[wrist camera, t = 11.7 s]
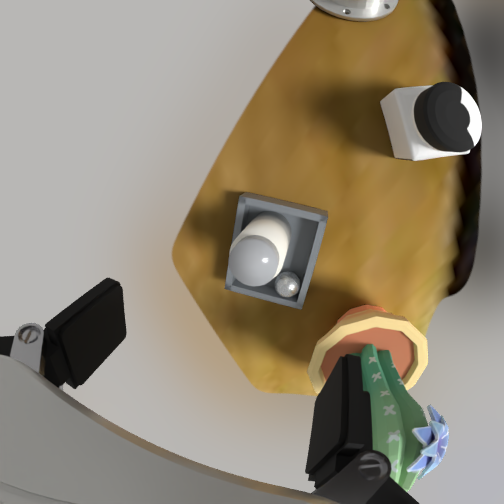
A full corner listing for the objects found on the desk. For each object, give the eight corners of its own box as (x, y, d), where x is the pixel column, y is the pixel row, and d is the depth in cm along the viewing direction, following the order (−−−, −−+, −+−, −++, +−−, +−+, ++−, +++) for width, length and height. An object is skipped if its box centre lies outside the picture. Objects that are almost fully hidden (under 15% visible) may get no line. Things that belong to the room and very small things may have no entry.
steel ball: (279, 264, 35) (275, 275, 32) (304, 270, 35) (302, 282, 32) (274, 286, 37) (269, 298, 34) (297, 292, 36) (295, 305, 33)
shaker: (253, 207, 34) (228, 230, 24) (295, 216, 33) (287, 243, 24) (246, 246, 36) (221, 282, 26) (286, 256, 35) (274, 296, 26)
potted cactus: (405, 366, 37) (430, 507, 14) (311, 372, 41) (288, 519, 18) (421, 279, 32) (500, 433, 9) (308, 286, 36) (278, 464, 13)
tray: (246, 192, 34) (239, 195, 31) (327, 211, 32) (328, 216, 30) (231, 278, 38) (224, 288, 36) (303, 297, 37) (301, 309, 34)
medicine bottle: (394, 159, 28) (432, 164, 17) (378, 100, 26) (408, 75, 15) (444, 151, 26) (497, 155, 15) (430, 95, 24) (477, 73, 13)
